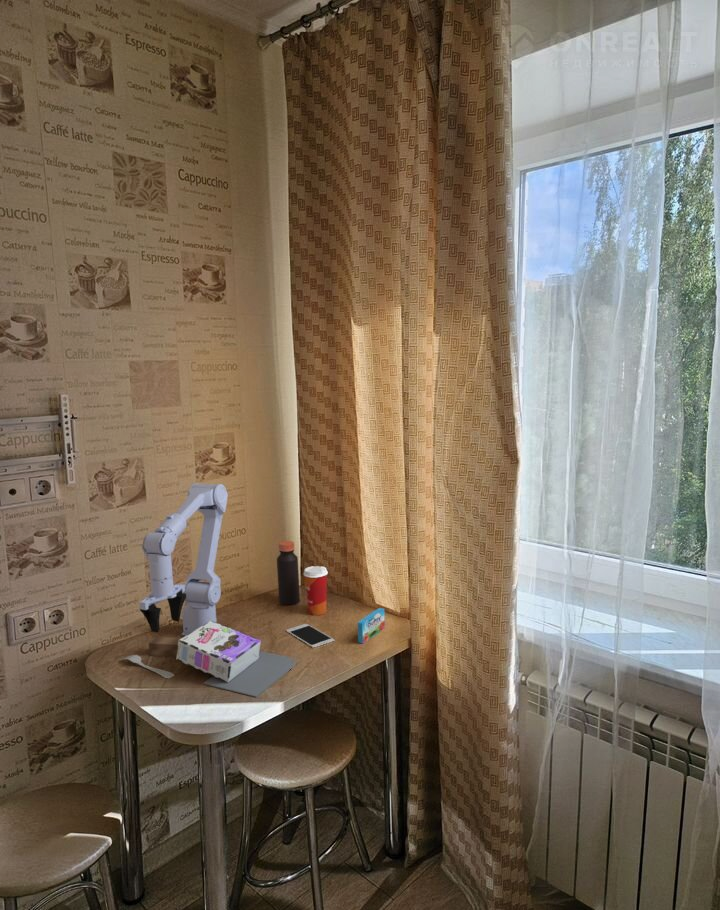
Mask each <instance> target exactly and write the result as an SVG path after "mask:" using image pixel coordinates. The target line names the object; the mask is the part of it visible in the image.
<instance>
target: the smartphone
mask: <svg viewBox="0 0 720 910" xmlns="http://www.w3.org/2000/svg"><path fill="white" fill-rule="evenodd" d="M285 631H287V632H286V633H288V634H289V633H290V634H289V635H291V634H292V635H293V637H294V636H295V637H294V638H296V637H297V638H298V640H299V639H300V640H302V641H303V642H305V643H307V644H308V645H310V646H312V647H317V646H320V645H323V644H326V643H329V642H332V641H335V638H332V637H331V636H329V635H328V634H326V633H324V632H322V631H321V630H318V629H317V628H316V627H314V626H311V625H309V624H308V623H303V624H300V625H298V626H295V627H294V626H293V627H291V628H287V629H286V630H285ZM292 635H291V636H292ZM297 638H296V639H297ZM300 640H299V641H300ZM302 641H301V642H302ZM303 642H302V643H303ZM305 643H304V644H305ZM307 644H306V645H307ZM308 645H307V646H308ZM310 646H309V647H310Z"/></svg>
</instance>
